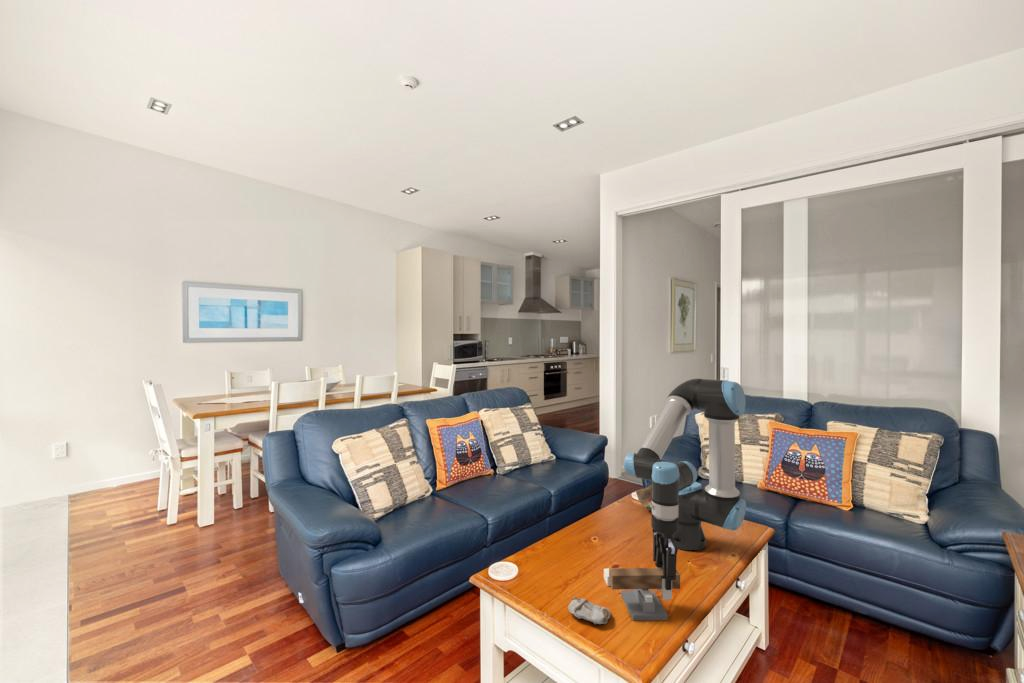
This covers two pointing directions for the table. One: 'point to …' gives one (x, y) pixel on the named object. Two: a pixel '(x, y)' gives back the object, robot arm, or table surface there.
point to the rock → (645, 497)
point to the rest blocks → (606, 576)
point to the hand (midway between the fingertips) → (663, 594)
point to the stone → (589, 611)
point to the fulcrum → (643, 605)
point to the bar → (639, 578)
